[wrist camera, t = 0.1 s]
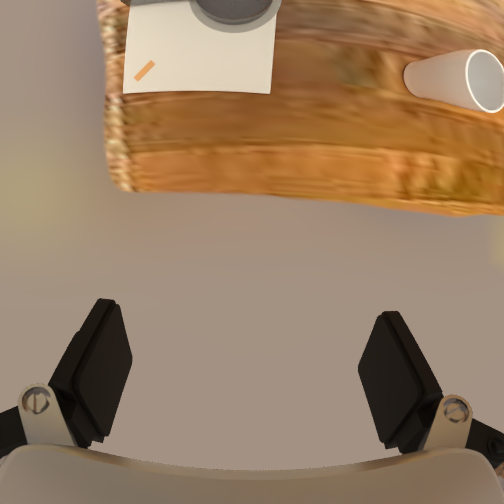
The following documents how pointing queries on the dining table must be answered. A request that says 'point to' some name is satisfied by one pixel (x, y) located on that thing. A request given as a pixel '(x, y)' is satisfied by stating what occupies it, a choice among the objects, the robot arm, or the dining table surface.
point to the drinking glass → (459, 79)
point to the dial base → (196, 50)
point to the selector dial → (225, 9)
